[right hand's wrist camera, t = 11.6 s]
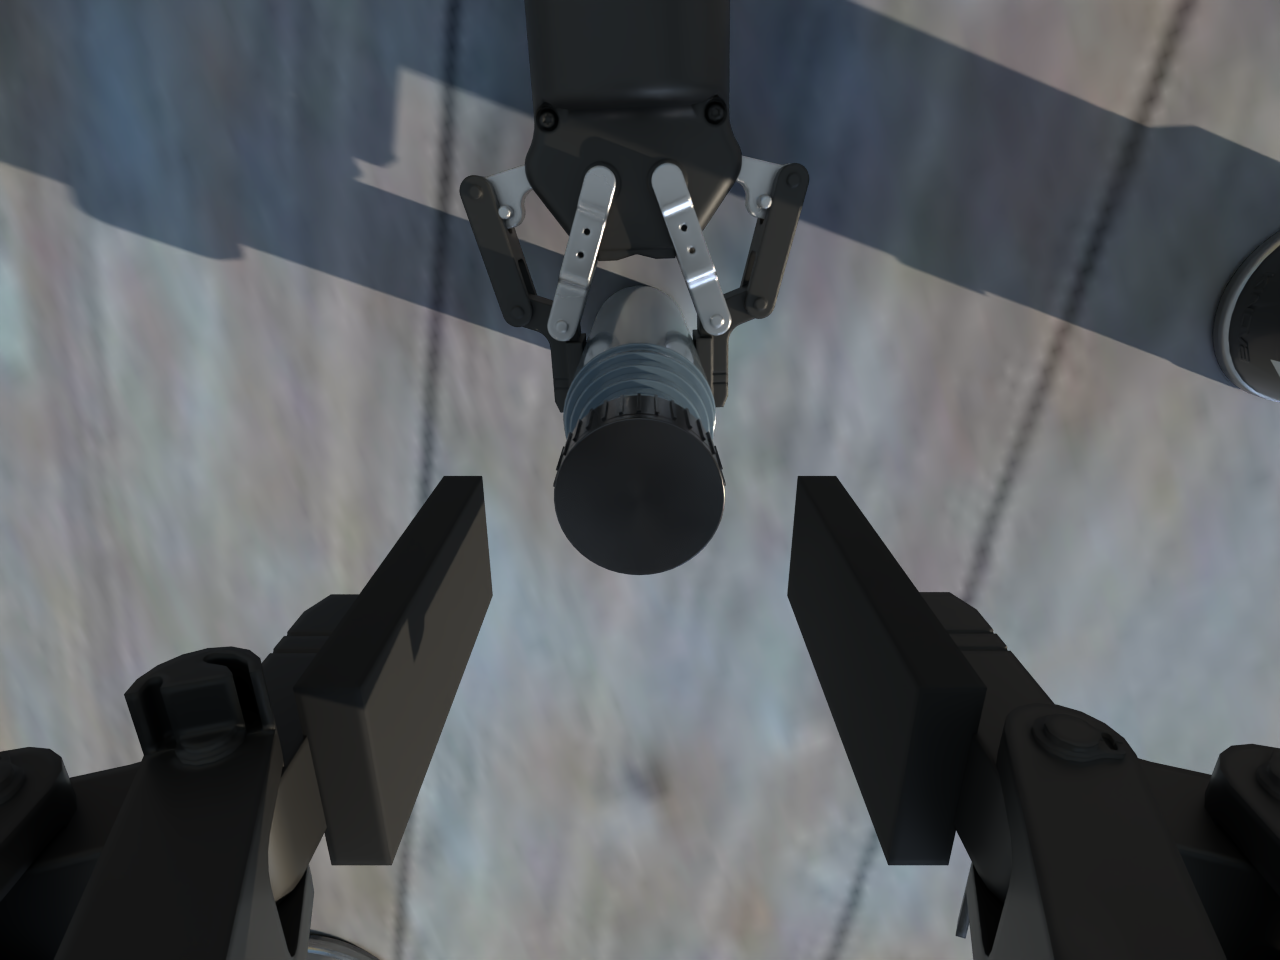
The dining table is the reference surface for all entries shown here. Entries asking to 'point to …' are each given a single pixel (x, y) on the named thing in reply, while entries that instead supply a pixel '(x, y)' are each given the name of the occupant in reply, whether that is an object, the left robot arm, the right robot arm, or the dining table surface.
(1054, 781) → the right robot arm
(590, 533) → the cap
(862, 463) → the dining table surface
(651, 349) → the bottle
